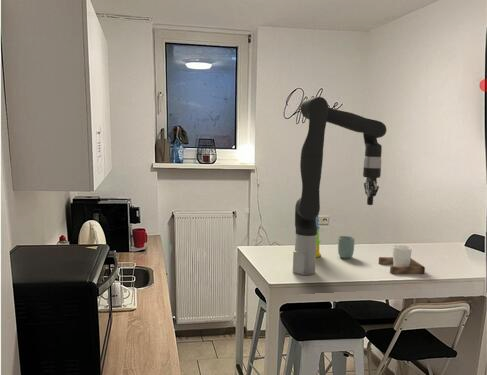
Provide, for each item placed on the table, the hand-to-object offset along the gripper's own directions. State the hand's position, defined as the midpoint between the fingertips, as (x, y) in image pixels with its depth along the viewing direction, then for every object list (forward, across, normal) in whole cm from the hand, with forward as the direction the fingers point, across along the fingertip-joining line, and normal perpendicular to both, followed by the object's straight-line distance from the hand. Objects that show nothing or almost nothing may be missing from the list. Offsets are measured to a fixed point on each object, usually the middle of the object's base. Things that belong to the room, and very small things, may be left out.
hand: (369, 204), depth 192 cm
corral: (+29, -2, -15) cm, 33 cm away
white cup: (+29, -3, -16) cm, 33 cm away
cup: (+29, +14, +5) cm, 33 cm away
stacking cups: (+29, +18, +22) cm, 41 cm away
